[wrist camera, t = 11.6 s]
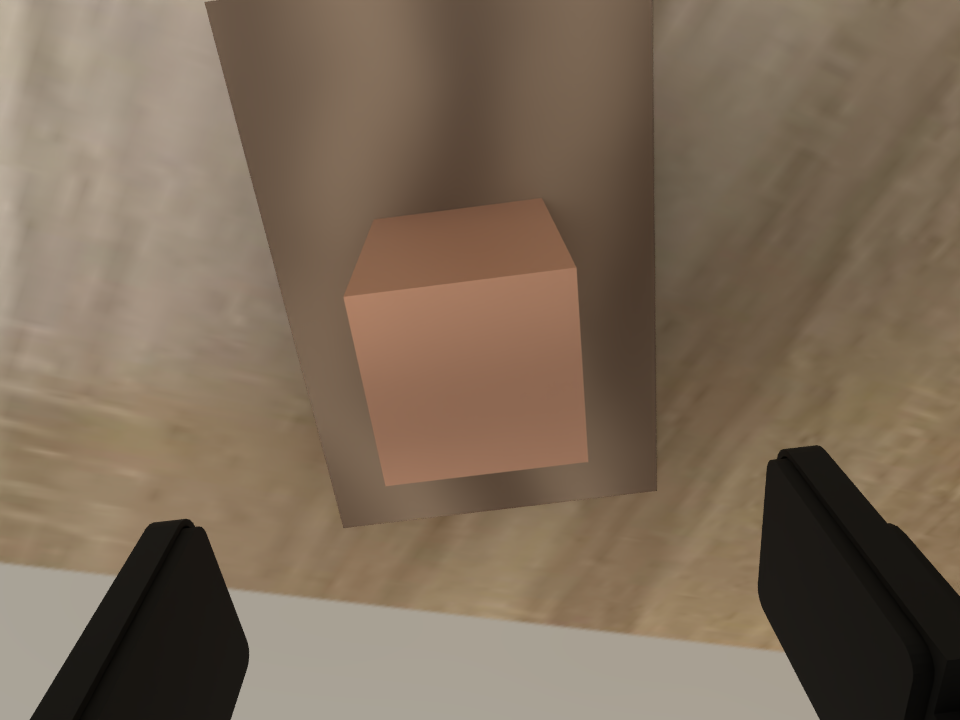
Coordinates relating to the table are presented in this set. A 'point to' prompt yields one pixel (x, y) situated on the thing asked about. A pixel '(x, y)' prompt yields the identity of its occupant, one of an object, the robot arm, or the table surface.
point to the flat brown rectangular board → (455, 197)
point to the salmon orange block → (469, 342)
